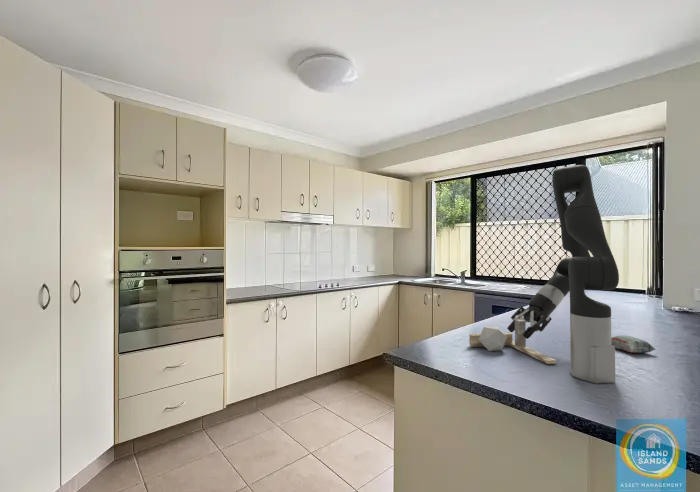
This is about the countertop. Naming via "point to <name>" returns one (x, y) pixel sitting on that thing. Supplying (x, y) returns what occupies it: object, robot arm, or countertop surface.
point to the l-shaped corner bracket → (516, 342)
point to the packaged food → (631, 344)
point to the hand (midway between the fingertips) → (516, 333)
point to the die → (493, 338)
